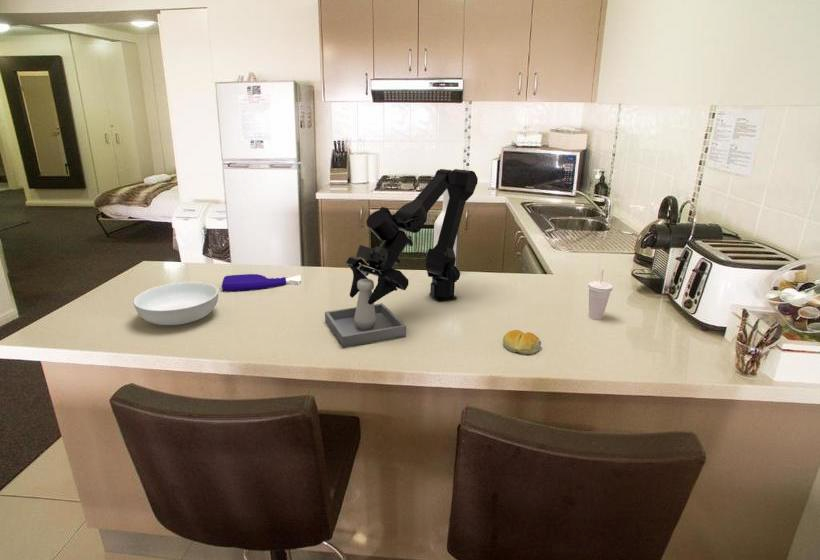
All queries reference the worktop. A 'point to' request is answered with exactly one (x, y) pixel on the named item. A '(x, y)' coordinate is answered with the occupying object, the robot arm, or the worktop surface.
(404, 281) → the robot arm
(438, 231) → the bottle
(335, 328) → the tray
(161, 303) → the serving bowl
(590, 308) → the smoothie
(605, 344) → the worktop surface
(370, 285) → the salt shaker
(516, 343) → the bread roll
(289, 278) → the spray bottle
